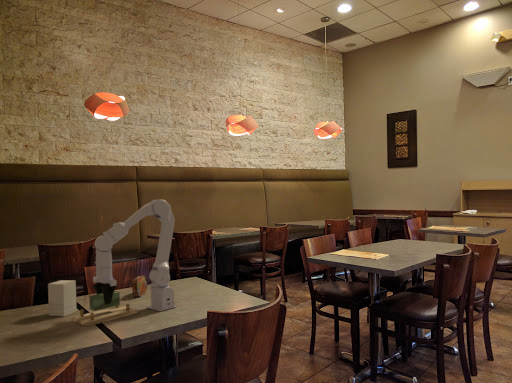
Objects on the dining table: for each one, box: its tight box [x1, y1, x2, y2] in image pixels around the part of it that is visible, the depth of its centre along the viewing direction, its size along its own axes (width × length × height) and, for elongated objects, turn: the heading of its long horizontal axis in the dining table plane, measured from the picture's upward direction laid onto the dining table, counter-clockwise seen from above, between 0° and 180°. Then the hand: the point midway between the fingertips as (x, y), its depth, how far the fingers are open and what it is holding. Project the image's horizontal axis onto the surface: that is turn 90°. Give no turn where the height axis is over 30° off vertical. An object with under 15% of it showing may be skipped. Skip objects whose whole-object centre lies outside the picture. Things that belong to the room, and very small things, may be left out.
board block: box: [89, 290, 121, 312], centre depth 149 cm, size 4×10×5 cm, turn 139°
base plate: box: [71, 303, 138, 327], centre depth 149 cm, size 12×20×4 cm, turn 139°
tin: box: [131, 275, 148, 298], centre depth 184 cm, size 15×3×8 cm, turn 179°
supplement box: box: [47, 279, 77, 317], centre depth 156 cm, size 7×7×13 cm
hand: (105, 302), depth 149 cm, fingers closed on board block, 4 cm apart
